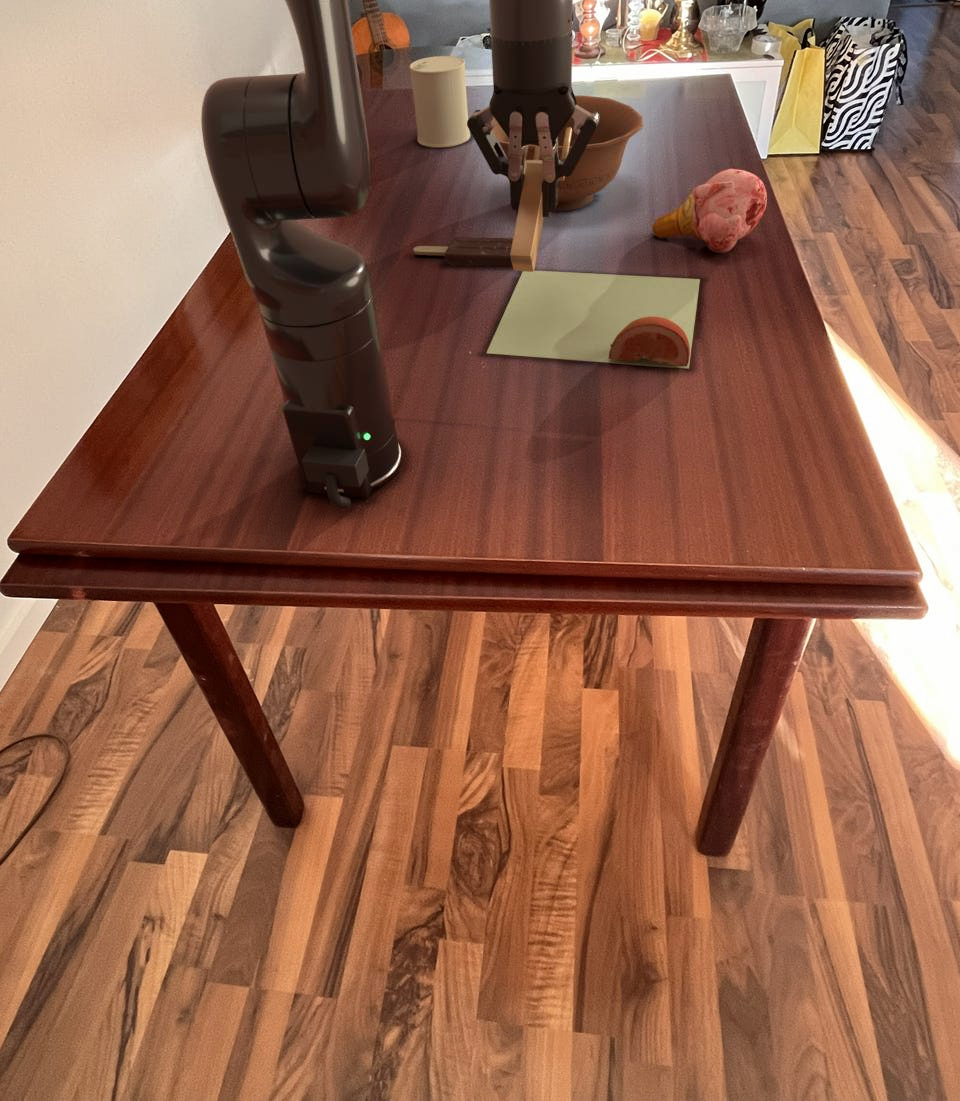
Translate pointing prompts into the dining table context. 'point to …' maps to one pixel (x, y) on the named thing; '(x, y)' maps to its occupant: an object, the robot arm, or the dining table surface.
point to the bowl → (590, 150)
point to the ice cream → (718, 211)
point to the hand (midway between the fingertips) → (534, 213)
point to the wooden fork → (531, 211)
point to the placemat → (588, 313)
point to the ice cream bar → (472, 251)
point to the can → (440, 101)
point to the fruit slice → (652, 342)
